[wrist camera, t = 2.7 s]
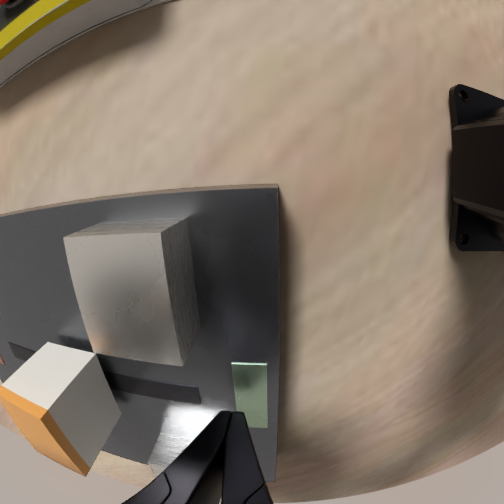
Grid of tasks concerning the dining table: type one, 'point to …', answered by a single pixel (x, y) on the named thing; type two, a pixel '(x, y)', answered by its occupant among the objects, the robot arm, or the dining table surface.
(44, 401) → the block
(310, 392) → the dining table surface
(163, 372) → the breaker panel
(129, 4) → the emergency button
